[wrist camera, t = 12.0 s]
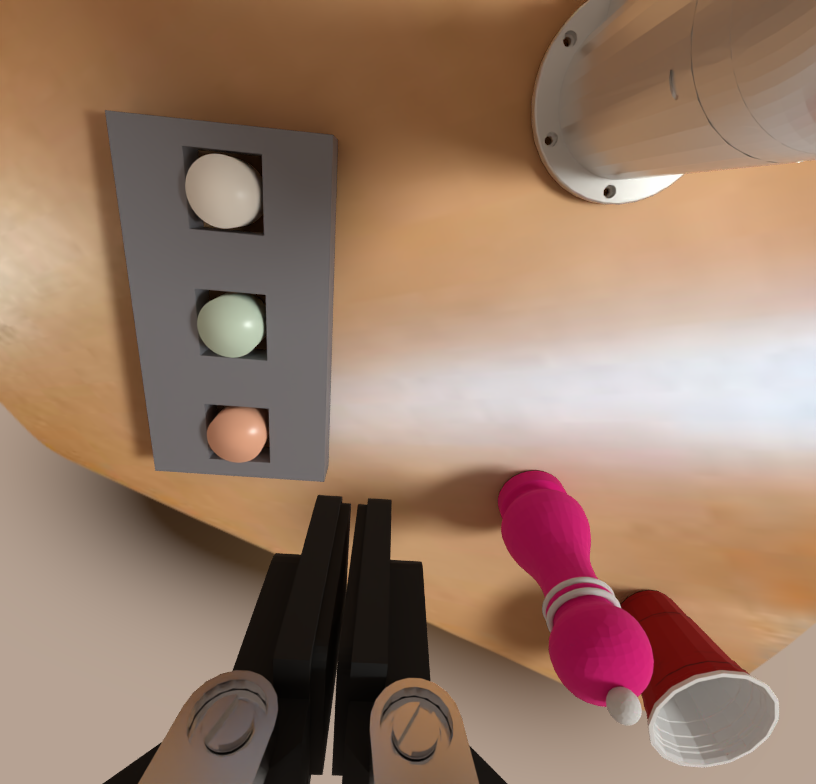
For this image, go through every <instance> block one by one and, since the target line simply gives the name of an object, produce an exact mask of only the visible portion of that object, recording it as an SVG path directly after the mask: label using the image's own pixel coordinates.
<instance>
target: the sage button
mask: <svg viewBox="0 0 816 784" xmlns="http://www.w3.org/2000/svg"><path fill="white" fill-rule="evenodd" d="M197 327H198V332H199V335H200V337H201V339H202V341H203V342H204V343H205V345H206V346H207V347H208V348H209V349H211V350H212V351H213V352H215V353H217V354H219V355H221V356H225V357H230V358H235V357H241V356H244V355H246V354H248V353H249V352H251V351H252V350H253V349H254V348H255V347H256V346H257V345H258V344H259V343H260V342H261V341H262V340H263V339H264V338H265V336H266V335H267V325H266V306H265V304H264V303H263V302H262V301H261V300H260V299H259V298H258V297H257V296H255V295H254V294H252V293H240V292H227V293H225V294H223V295H221V296H219V297H217V298H215V299H213V300H211V301H210V302H208V303H207V304H205V305H204V306H203V308H202V309H201V311H200V313H199V315H198V320H197Z"/></svg>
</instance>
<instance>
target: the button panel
mask: <svg viewBox="0 0 816 784" xmlns="http://www.w3.org/2000/svg"><path fill="white" fill-rule="evenodd" d="M105 114H106V121H107V128H108V136H109V143H110V150H111V157H112V164H113V171H114V178H115V185H116V193H117V200H118V207H119V214H120V221H121V228H122V235H123V243H124V250H125V257H126V264H127V271H128V278H129V285H130V292H131V300H132V307H133V314H134V321H135V328H136V335H137V342H138V350H139V357H140V364H141V371H142V378H143V385H144V392H145V399H146V407H147V414H148V421H149V428H150V435H151V442H152V449H153V457H154V464H155V471H170V472H185V473H200V474H215V475H230V476H245V477H260V478H275V479H290V480H305V481H320V482H324V480H325V477H326V473H327V469H328V459H329V425H330V392H331V358H332V325H333V291H334V258H335V224H336V191H337V157H338V139H337V138H336V137H335V136H334V135H329V134H320V133H311V132H301V131H292V130H283V129H274V128H264V127H255V126H246V125H237V124H227V123H218V122H209V121H199V120H190V119H181V118H172V117H162V116H153V115H144V114H135V113H125V112H116V111H107V110H105ZM198 150H205V151H214V152H224V153H234V154H243V155H253V156H262V177H263V214H264V233H261V232H250V231H240V230H229V229H219V228H208V227H204V223H203V220H202V219H201V218H200V217H199V216H198V215H197V214H196V213H195V212H194V210H193V209H192V207H191V205H190V204H189V201H188V199H187V195H186V189H185V182H186V176H187V173H188V170H189V169H190V167H191V165H192V164H193V163H194V162H195V161H196V160H197V159H199V156H198ZM209 290H218V291H229V292H240V293H252V294H263V295H266V325H267V350H259V349H253V350H252V351H251V352H249V353H248V354H246V355H244V356H241V357H235V358H230V357H225V356H221V355H219V354H217V353H215V352H213V351H212V350H211V349H209V348H208V347H207V346H206V345H205V343H204V342H203V341H202V339H201V337H200V335H199V332H198V327H197V320H198V315H199V313H200V311H201V309H202V308H203V306H204V305H205V304H207V303H208V302H209ZM217 405H227V406H240V407H254V408H267V409H269V436H270V447H263V448H262V450H261V451H260V453H259V454H258V455H257V456H256V457H255V458H254V459H252V460H250V461H247V462H242V463H236V462H230V461H227V460H225V459H223V458H221V457H219V456H218V455H217V454H216V453H215V452H214V451H213V450H212V449H211V447H210V445H209V443H208V440H207V430H208V427H209V425H210V423H211V422H212V421H213V420H214V419H215V417H216V416H217V415H218V410H217Z"/></svg>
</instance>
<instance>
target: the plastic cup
mask: <svg viewBox="0 0 816 784" xmlns="http://www.w3.org/2000/svg"><path fill="white" fill-rule="evenodd" d="M620 606H621V609H623V610H625V611H627V612H628V613H629V614H630V615H631V616H633V617H634V618H635V619H636V620H637V621H638V623H639V624H640V626H641V627H642V628H643V630H644V631H645V633H646V635H647V637H648V640H649V642H650V645H651V648H652V653H653V660H654V664H653V673H652V677H651V680H650V682H649V684H648V686H647V687H646V689H645V690H644V691H643V692H642V693H641V695H642V698H643V702H644V707H645V710H646V713H647V719H648V721H647V722H648V729H649V737H650V741H651V744H652V746H653V747H654V748H655V749H656V750H657V751H658V753H659V754H660V755H661V756H662V757H663V758H665V759H667V760H670V761H672V762H674V763H677V764H679V765H681V766H692V767H710V766H715V765H720V764H725V763H730V762H732V761H734V760H736V759H738V758H740V757H742V756H744V755H747V754H749V753H751V752H752V751H754V750H755V749H756V748H757V747H758V746H759V745H760V744H762V743H763V742H764V741H765V740H766V739H767V738H768V737H769V736H770V734H771V733H772V731H773V729H774V727H775V725H776V723H777V721H778V719H779V700H778V699H777V697H776V696H775V694H774V693H773V691H772V690H771V689H770V687H769V686H768V685H767V684H766V683H764V682H763V681H761V680H759V679H757V678H755V677H753V676H751V675H750V674H748V673H747V672H746V671H745V670H743V669H742V668H741V667H740V666H739V665H738V664H737V663H736V662H735V661H733V660H731V659H730V658H729V657H728V656H727V655H726V654H725V653H724V652H723V651H722V650H721V649H720V648H719V647H718V646H717V645H716V644H715V643H714V642H713V640H712V639H711V638H710V637H709V636H708V635H707V634H706V633H705V632H704V631H703V630H702V629H701V628H700V627H699V626H698V625H697V624H696V623H695V622H694V621H693V620H692V619H691V618H689V617H688V616H687V615H686V614H685V613H684V612H683V611H682V610H681V609H680V608H679V607H678V606H677V605H676V604H675V603H674V602H673V601H672V599H670V598H668V597H667V596H666V595H665V594H663V593H661V592H659V591H650V590H647V591H642V592H637V593H635V594H634V595H632V596H630V597H628V598H627V599H626V600H625V601H624V602H623V603H622V604H621V605H620Z"/></svg>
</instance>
